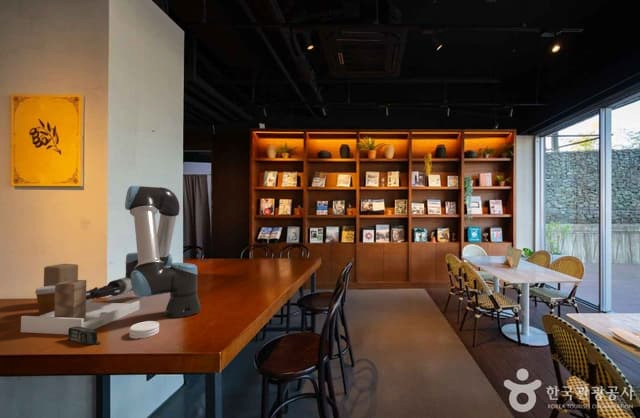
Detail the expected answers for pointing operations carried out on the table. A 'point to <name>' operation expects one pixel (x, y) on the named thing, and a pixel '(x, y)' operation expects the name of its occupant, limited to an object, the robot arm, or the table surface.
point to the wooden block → (60, 273)
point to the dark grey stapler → (83, 335)
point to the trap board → (94, 318)
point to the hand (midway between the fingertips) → (75, 300)
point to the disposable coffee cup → (46, 299)
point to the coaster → (144, 329)
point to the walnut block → (70, 299)
